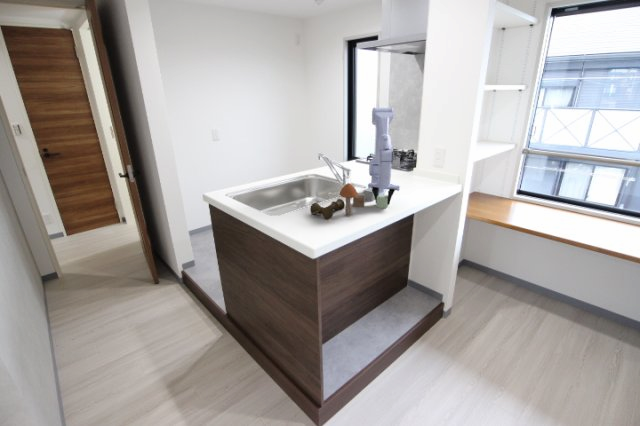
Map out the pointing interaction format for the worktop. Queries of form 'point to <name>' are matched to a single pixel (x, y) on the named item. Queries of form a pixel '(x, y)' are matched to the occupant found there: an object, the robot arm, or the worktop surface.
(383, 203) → the sage cube
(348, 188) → the mushroom
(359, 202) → the walnut cube
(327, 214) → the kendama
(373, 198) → the grey cube
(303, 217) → the worktop surface
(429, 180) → the worktop surface
